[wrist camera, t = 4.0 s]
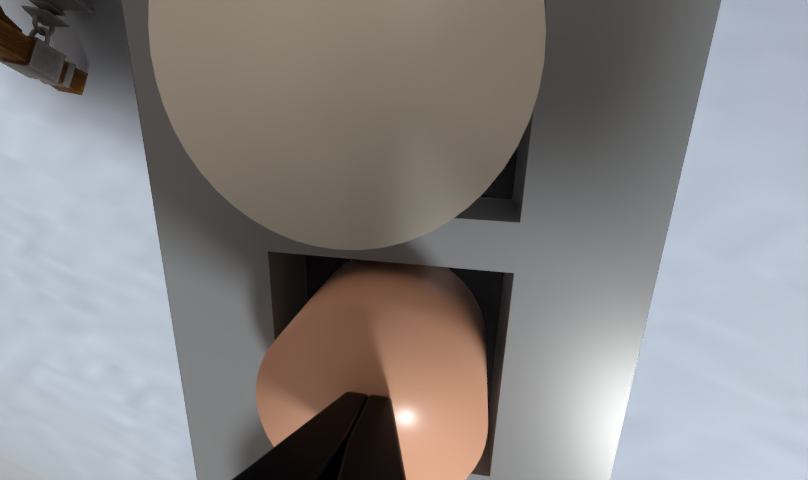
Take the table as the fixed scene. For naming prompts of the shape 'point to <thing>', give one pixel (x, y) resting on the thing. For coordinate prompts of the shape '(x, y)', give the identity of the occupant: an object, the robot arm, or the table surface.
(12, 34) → the wooden post with brackets
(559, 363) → the button panel
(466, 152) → the cream button
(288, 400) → the terracotta button
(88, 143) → the table surface
